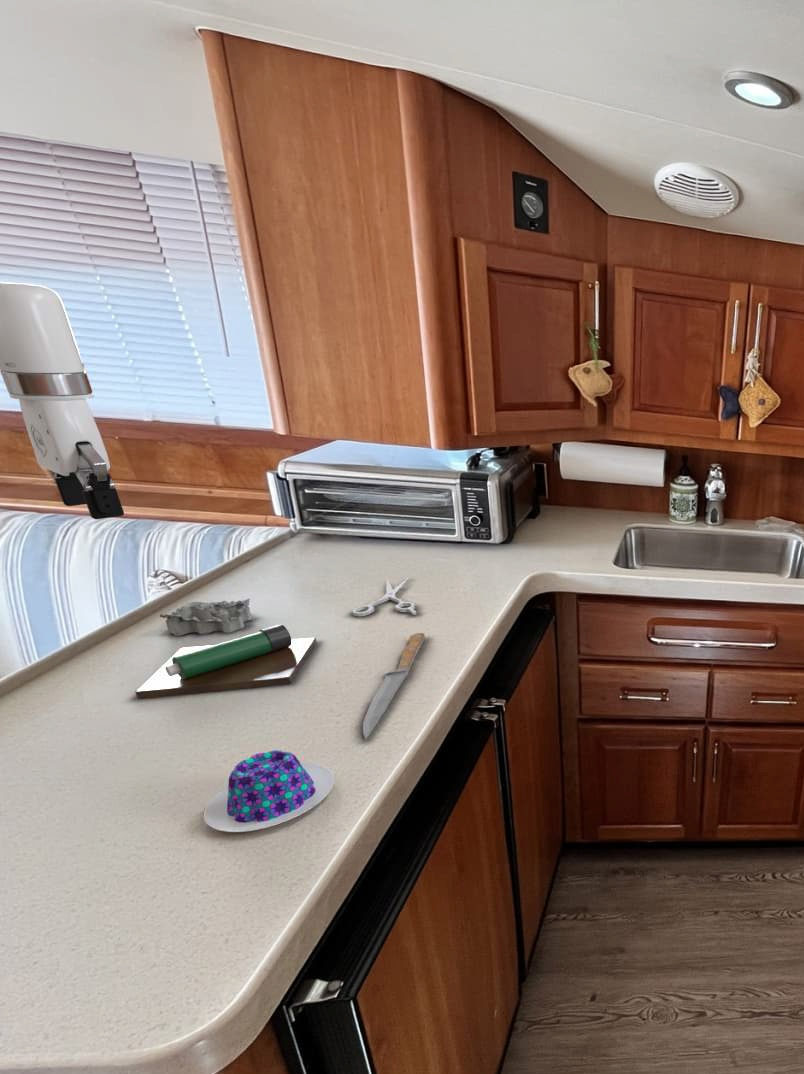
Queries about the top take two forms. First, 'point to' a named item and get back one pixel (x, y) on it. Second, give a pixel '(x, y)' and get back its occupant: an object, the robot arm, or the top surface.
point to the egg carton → (208, 617)
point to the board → (233, 672)
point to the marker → (229, 652)
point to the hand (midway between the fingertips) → (94, 510)
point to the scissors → (388, 596)
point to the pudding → (267, 792)
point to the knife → (391, 684)
